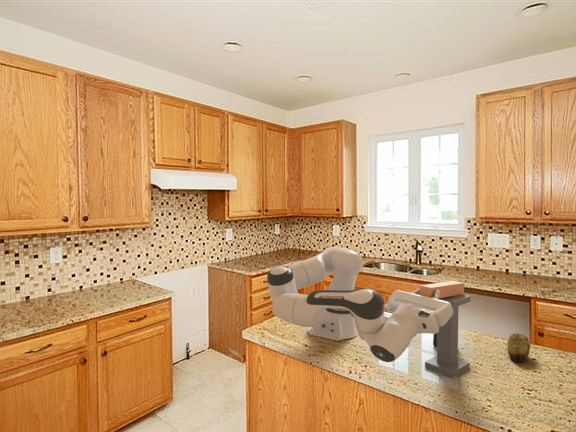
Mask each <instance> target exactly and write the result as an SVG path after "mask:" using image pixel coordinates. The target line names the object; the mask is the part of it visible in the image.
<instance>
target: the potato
mask: <svg viewBox="0 0 576 432" xmlns="http://www.w3.org/2000/svg"><path fill="white" fill-rule="evenodd" d="M506 345H507V348H506V349H507V350H506V351H507V354H508V356H509V358H510V359H512V360H513V361H515V362H518V363H524V362H526V361H527V359H528V357H529V356H530V350H531V344H530V341H529V338H528V337H527V336H525V335H523V334H521V333H513V334H511V335H509V337H508V339H507V344H506Z"/></svg>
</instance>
